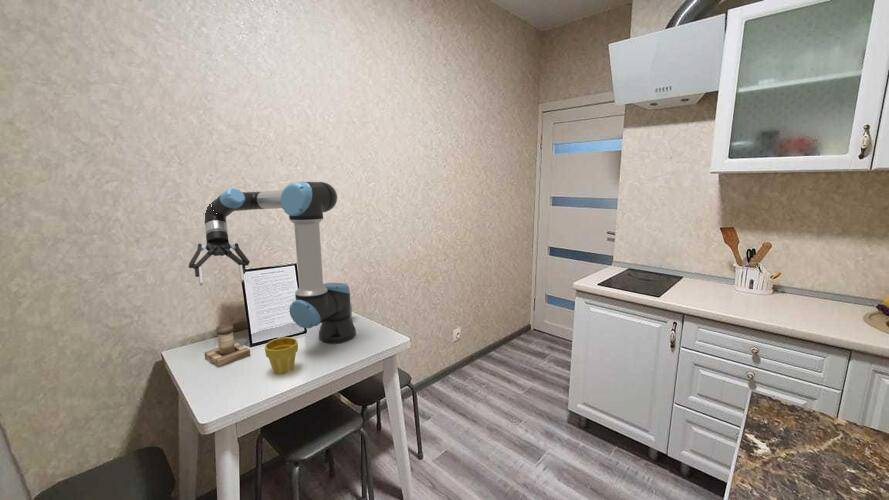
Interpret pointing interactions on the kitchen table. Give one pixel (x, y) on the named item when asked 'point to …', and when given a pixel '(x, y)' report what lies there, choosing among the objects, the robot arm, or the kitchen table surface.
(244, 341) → the coaster
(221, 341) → the mill
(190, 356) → the kitchen table surface
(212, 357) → the pocket block
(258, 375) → the kitchen table surface
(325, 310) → the robot arm
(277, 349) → the plant pot
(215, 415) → the kitchen table surface
